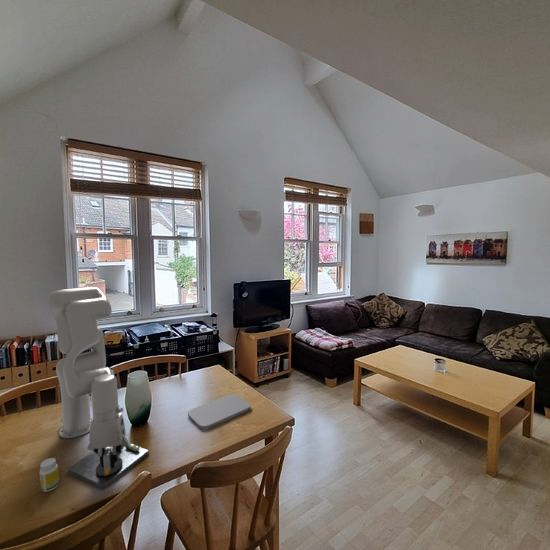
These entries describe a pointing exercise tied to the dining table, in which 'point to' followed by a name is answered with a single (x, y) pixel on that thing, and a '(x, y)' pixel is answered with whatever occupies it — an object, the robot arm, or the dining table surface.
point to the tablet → (218, 411)
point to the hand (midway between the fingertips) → (109, 463)
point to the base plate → (88, 464)
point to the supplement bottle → (49, 475)
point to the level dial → (108, 464)
